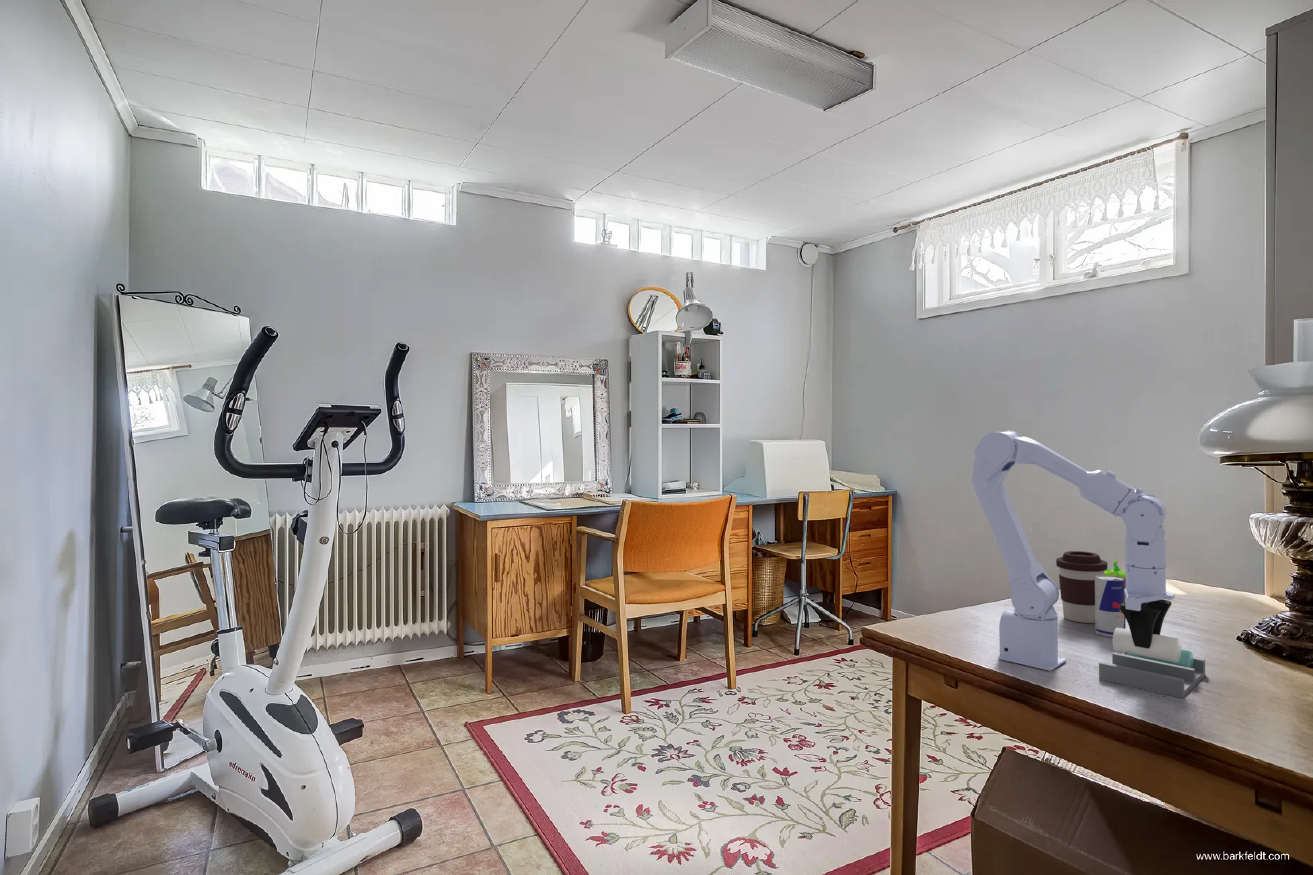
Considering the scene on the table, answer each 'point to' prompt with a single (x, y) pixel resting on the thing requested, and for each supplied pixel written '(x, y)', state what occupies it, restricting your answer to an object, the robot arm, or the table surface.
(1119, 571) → the strawberry
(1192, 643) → the table surface
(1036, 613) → the robot arm
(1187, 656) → the teal rod
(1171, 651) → the white rod
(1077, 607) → the coffee cup
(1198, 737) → the table surface
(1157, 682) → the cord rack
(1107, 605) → the energy drink
